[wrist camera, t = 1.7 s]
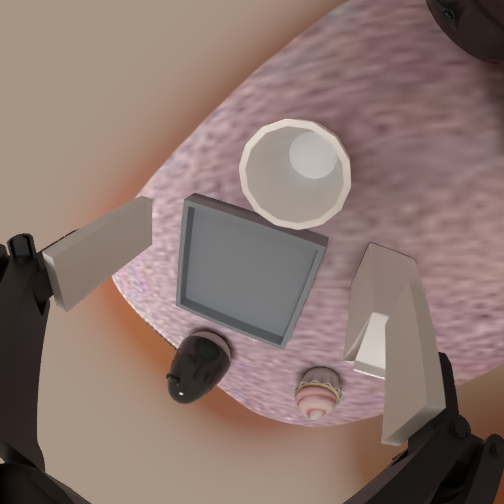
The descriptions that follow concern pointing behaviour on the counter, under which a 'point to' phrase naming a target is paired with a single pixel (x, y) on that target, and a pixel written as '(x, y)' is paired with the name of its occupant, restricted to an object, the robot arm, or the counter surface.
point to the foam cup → (295, 173)
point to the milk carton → (375, 306)
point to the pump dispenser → (197, 367)
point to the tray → (244, 269)
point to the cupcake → (318, 393)
